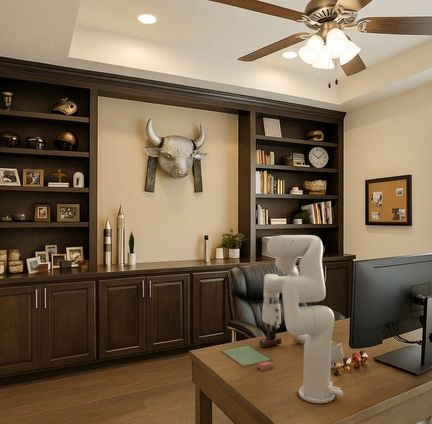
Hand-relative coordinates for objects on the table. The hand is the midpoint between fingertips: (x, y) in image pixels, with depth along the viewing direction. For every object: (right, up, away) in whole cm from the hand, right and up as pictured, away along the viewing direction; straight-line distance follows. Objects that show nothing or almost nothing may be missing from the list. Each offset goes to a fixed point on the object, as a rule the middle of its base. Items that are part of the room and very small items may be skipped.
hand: (270, 337), depth 187 cm
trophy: (+21, -5, -7) cm, 22 cm away
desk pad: (-12, -4, -13) cm, 18 cm away
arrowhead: (+27, -5, -24) cm, 36 cm away
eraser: (-3, -4, -26) cm, 27 cm away
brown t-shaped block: (0, -3, 0) cm, 3 cm away
